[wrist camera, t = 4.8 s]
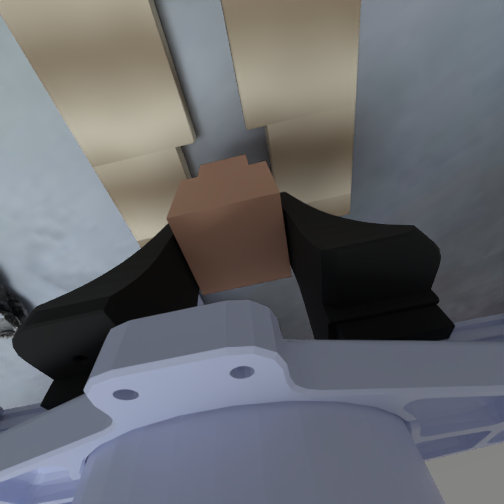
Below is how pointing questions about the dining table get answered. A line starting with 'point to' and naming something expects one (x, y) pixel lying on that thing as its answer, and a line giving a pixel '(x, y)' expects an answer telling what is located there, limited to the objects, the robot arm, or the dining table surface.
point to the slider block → (231, 225)
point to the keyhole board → (173, 102)
